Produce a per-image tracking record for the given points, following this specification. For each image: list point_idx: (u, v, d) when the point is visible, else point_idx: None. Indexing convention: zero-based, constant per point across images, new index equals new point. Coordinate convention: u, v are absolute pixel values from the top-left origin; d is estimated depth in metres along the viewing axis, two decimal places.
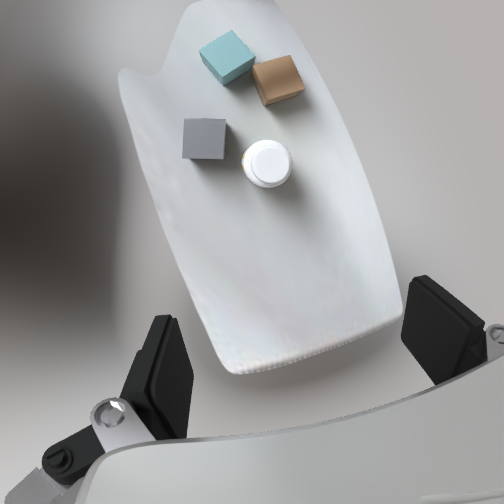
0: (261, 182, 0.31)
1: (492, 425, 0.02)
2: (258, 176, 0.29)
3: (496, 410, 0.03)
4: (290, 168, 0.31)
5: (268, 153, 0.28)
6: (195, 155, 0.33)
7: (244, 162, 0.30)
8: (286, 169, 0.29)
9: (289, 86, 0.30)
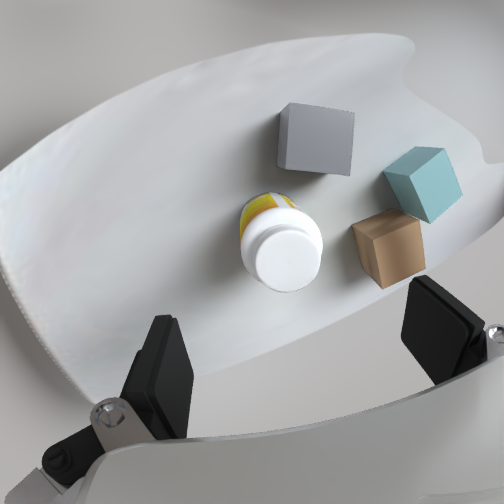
0: (251, 240, 0.18)
1: (492, 425, 0.02)
2: (267, 241, 0.16)
3: (496, 410, 0.03)
4: None
5: (308, 258, 0.17)
6: (293, 123, 0.19)
7: (286, 210, 0.18)
8: (279, 288, 0.17)
9: (387, 268, 0.23)
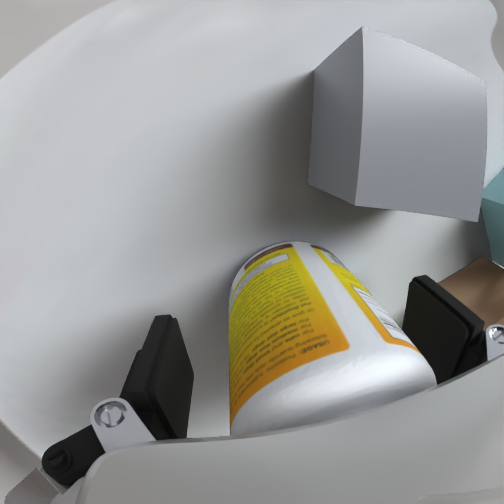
0: None
1: (492, 425, 0.02)
2: None
3: (496, 410, 0.03)
4: None
5: None
6: (375, 80, 0.06)
7: (378, 365, 0.05)
8: None
9: None
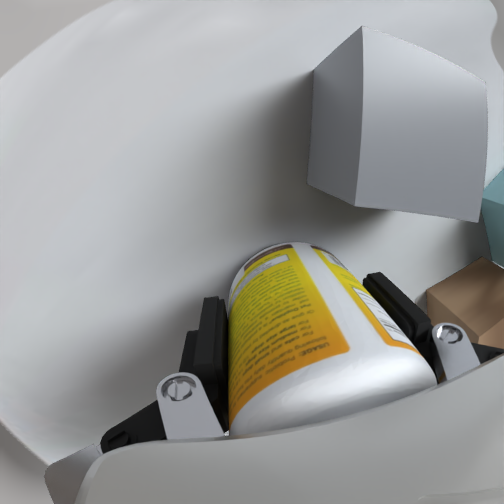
0: None
1: (492, 425, 0.02)
2: None
3: (496, 409, 0.03)
4: None
5: None
6: (375, 79, 0.06)
7: (379, 368, 0.05)
8: None
9: None
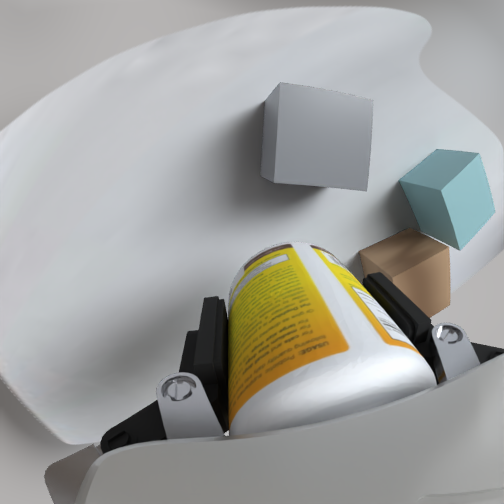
0: None
1: (492, 425, 0.02)
2: None
3: (496, 410, 0.03)
4: None
5: None
6: (285, 114, 0.12)
7: (378, 367, 0.05)
8: None
9: None
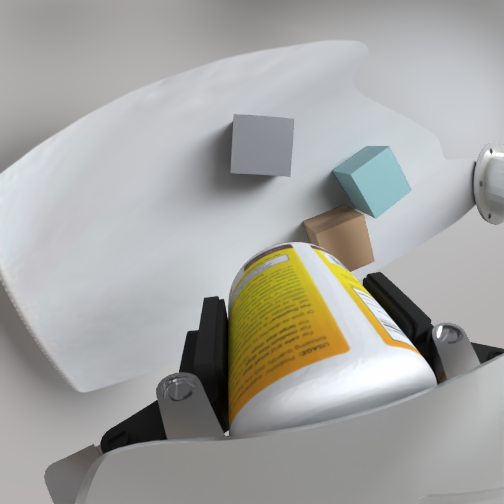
0: None
1: (492, 425, 0.02)
2: None
3: (496, 409, 0.03)
4: None
5: None
6: (236, 133, 0.22)
7: (379, 368, 0.05)
8: None
9: None
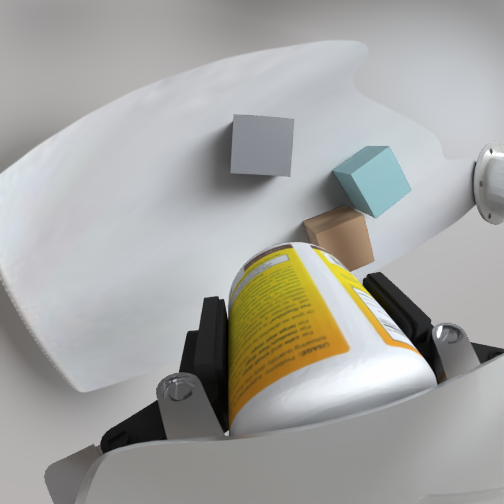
0: None
1: (492, 425, 0.02)
2: None
3: (496, 409, 0.03)
4: None
5: None
6: (236, 133, 0.22)
7: (379, 368, 0.05)
8: None
9: None
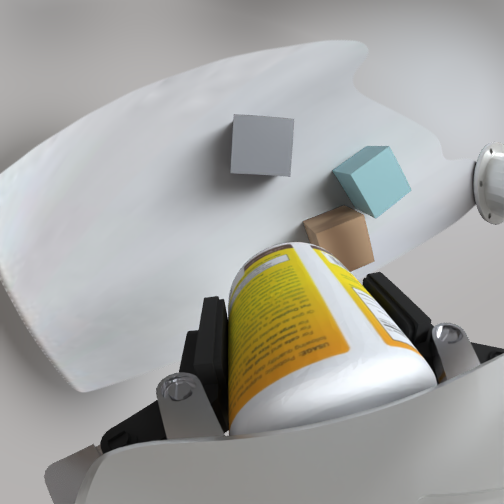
0: None
1: (492, 425, 0.02)
2: None
3: (496, 409, 0.03)
4: None
5: None
6: (236, 133, 0.22)
7: (379, 368, 0.05)
8: None
9: None
